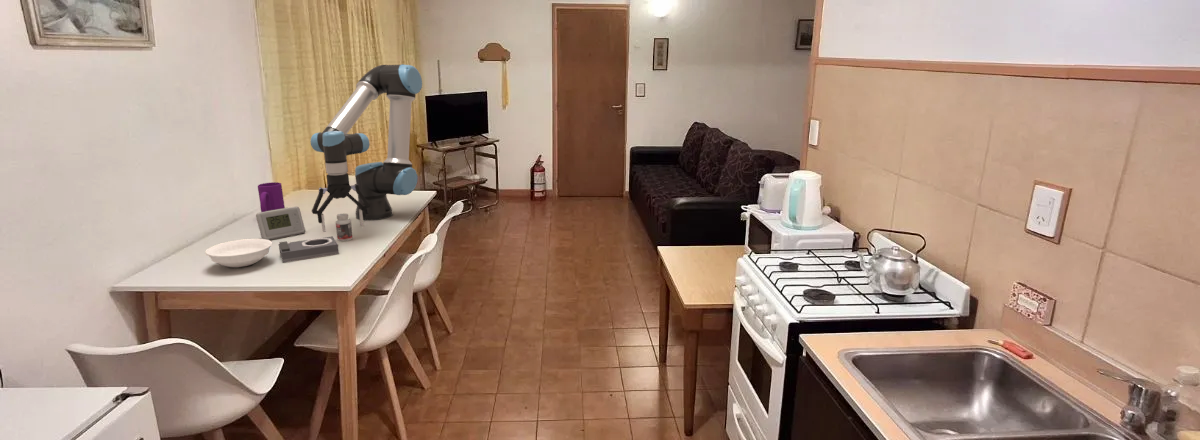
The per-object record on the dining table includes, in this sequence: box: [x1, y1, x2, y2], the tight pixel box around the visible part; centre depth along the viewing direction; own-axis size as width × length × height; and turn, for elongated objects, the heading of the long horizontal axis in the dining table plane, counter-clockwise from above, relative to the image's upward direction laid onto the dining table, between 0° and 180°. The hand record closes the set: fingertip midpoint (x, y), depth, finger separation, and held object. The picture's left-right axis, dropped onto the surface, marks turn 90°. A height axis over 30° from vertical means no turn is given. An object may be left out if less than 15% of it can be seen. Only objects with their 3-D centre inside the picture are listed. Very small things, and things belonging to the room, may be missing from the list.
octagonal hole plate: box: [278, 236, 340, 263], centre depth 226 cm, size 18×12×4 cm, turn 120°
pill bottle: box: [335, 212, 353, 242], centre depth 242 cm, size 5×5×10 cm
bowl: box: [204, 238, 273, 268], centre depth 215 cm, size 20×20×6 cm
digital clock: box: [255, 206, 306, 241], centre depth 247 cm, size 16×9×11 cm, turn 123°
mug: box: [257, 182, 286, 212], centre depth 271 cm, size 9×16×15 cm, turn 8°
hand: (343, 228), depth 242 cm, fingers open, 13 cm apart
